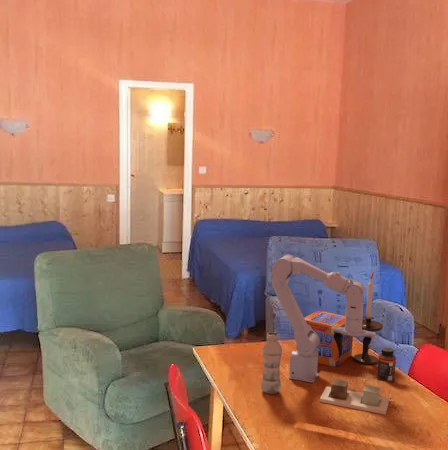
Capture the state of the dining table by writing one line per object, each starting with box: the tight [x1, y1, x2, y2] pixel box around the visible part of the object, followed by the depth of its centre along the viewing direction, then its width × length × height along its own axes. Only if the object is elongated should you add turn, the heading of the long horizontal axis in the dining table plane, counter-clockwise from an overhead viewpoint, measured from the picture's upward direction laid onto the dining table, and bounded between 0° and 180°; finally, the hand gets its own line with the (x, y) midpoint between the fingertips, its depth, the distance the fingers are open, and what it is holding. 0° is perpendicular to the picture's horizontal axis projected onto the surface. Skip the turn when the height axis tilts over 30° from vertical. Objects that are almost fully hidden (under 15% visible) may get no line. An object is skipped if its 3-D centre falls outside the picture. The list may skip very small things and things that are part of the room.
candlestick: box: [353, 271, 384, 366], centre depth 211 cm, size 11×11×35 cm
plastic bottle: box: [260, 331, 283, 395], centre depth 182 cm, size 6×7×20 cm
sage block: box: [362, 384, 381, 407], centre depth 173 cm, size 4×4×5 cm
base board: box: [319, 386, 390, 415], centre depth 175 cm, size 20×10×2 cm, turn 68°
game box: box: [304, 310, 354, 368], centre depth 215 cm, size 16×16×16 cm
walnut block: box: [330, 378, 349, 400], centre depth 177 cm, size 4×4×5 cm
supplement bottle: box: [376, 347, 397, 383], centre depth 195 cm, size 6×6×11 cm
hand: (351, 356), depth 189 cm, fingers open, 7 cm apart
